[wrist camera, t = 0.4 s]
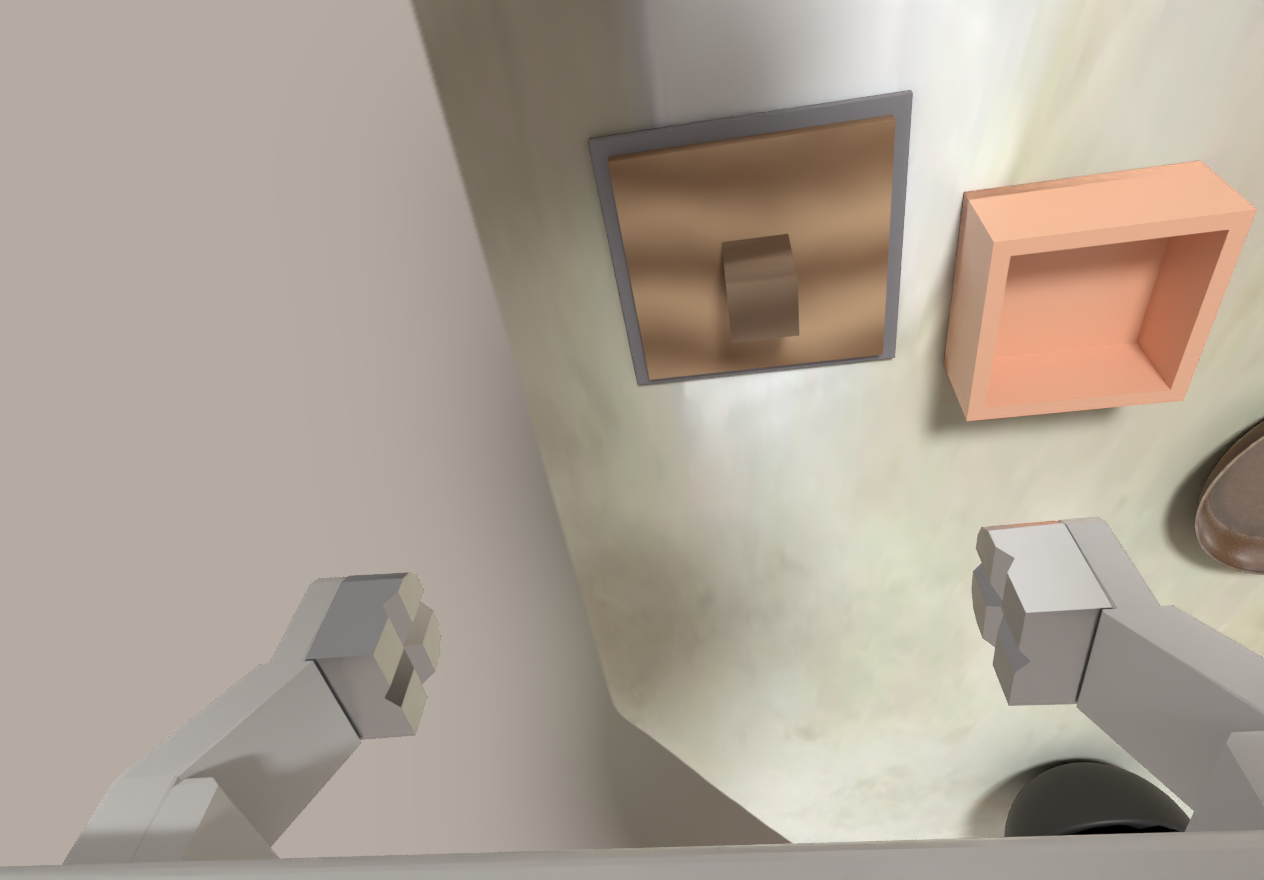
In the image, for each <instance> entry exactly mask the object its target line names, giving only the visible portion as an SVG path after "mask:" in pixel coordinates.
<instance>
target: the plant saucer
mask: <svg viewBox="0 0 1264 880" xmlns="http://www.w3.org/2000/svg"><path fill="white" fill-rule="evenodd" d="M1195 534H1196V538H1197V540H1198V543H1199V545H1200V546H1201V548H1202V549H1203V551H1204V552H1205V553H1206V554H1207V555H1208V556H1209V557H1211V558H1212V559H1213V560H1214V561H1216V562H1218V563H1220V564H1221V565H1223V566H1226V567H1228V568H1231V569H1234V570H1237V571H1241V572H1245V573H1251V574H1261V575H1264V421H1262V422H1261V423H1260V424H1258V425H1257V426H1255V427H1254V428H1253V429H1251V430H1250V431H1249V432H1248V433H1246V434H1245V435H1244V436H1243V437H1242V438H1240V439H1239V440H1238V441H1237V442H1236V443H1235V444H1234V445H1233V446H1232V447H1231V448H1230V449H1229V450H1228V451H1227V452H1226V453H1225V454H1224V456H1223V457H1222V458H1221V459H1220V461H1219V462H1218V463H1217V465H1216V466H1215V467H1214V469H1213V470H1212V472H1211V474H1210V475H1209V477H1208V479H1207V481H1206V483H1205V485H1204V487H1203V489H1202V492H1201V494H1200V497H1199V500H1198V504H1197V508H1196V514H1195Z"/></svg>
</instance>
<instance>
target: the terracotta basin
mask: <svg viewBox="0 0 1264 880" xmlns="http://www.w3.org/2000/svg"><path fill="white" fill-rule="evenodd" d="M1256 210H1257V209H1256V208H1255V207H1253V206H1252V205H1251V204H1250V203H1249V202H1248V201H1247V200H1245V199H1244V198H1243V197H1242V196H1241V195H1240V194H1239V193H1237V192H1236V191H1235V190H1234V189H1233V188H1232V187H1231V186H1229V185H1228V184H1227V183H1226V182H1225V181H1224V180H1223V179H1221V178H1220V177H1219V176H1218V175H1217V174H1216V173H1214V172H1213V171H1212V170H1211V169H1210V168H1209V167H1208V166H1206V165H1205V164H1204V163H1203V162H1202V161H1194V162H1186V163H1179V164H1171V165H1164V166H1156V167H1149V168H1141V169H1134V170H1126V171H1119V172H1111V173H1104V174H1096V175H1089V176H1081V177H1074V178H1066V179H1059V180H1051V181H1044V182H1036V183H1029V184H1021V185H1014V186H1006V187H999V188H991V189H984V190H976V191H969V192H964V198H963V206H962V214H961V223H960V231H959V240H958V248H957V257H956V265H955V273H954V282H953V290H952V299H951V307H950V315H949V324H948V332H947V341H946V349H945V358H944V367H945V369H946V372H947V374H948V377H949V379H950V382H951V384H952V387H953V389H954V391H955V394H956V396H957V399H958V401H959V404H960V406H961V409H962V411H963V414H964V416H965V418H966V421H975V420H985V419H996V418H1006V417H1017V416H1027V415H1038V414H1048V413H1059V412H1069V411H1080V410H1090V409H1101V408H1111V407H1122V406H1132V405H1142V404H1153V403H1163V402H1174V401H1183V400H1184V398H1185V395H1186V393H1187V390H1188V387H1189V385H1190V382H1191V380H1192V377H1193V374H1194V372H1195V369H1196V367H1197V364H1198V361H1199V359H1200V356H1201V354H1202V351H1203V348H1204V346H1205V343H1206V341H1207V338H1208V335H1209V333H1210V330H1211V328H1212V325H1213V322H1214V320H1215V317H1216V315H1217V312H1218V309H1219V307H1220V304H1221V302H1222V299H1223V296H1224V294H1225V291H1226V289H1227V286H1228V283H1229V281H1230V278H1231V275H1232V273H1233V270H1234V268H1235V265H1236V262H1237V260H1238V257H1239V255H1240V252H1241V249H1242V247H1243V244H1244V242H1245V239H1246V236H1247V234H1248V231H1249V229H1250V226H1251V223H1252V221H1253V218H1254V216H1255V213H1256Z"/></svg>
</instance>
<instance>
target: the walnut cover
mask: <svg viewBox="0 0 1264 880" xmlns="http://www.w3.org/2000/svg"><path fill="white" fill-rule="evenodd" d="M895 123H896V120H895V118H894V116H893V115H886V116H880V117H873V118H866V119H859V120H852V121H846V122H839V123H832V124H825V125H819V126H812V127H805V128H798V129H792V130H785V131H778V132H771V133H765V134H758V135H751V136H744V137H737V138H731V139H724V140H717V141H710V142H704V143H697V144H690V145H683V146H677V147H670V148H663V149H656V150H649V151H643V152H636V153H629V154H622V155H616V156H609V157H608V166H609V171H610V176H611V182H612V187H613V192H614V197H615V202H616V208H617V213H618V218H619V223H620V228H621V234H622V239H623V244H624V249H625V254H626V260H627V265H628V270H629V275H630V280H631V286H632V291H633V296H634V301H635V306H636V312H637V317H638V322H639V327H640V332H641V338H642V343H643V348H644V353H645V358H646V364H647V369H648V374H649V379H650V380H652V379H662V378H671V377H680V376H689V375H699V374H708V373H717V372H727V371H736V370H745V369H754V368H764V367H773V366H782V365H791V364H801V363H810V362H819V361H829V360H838V359H847V358H856V357H866V356H875V355H883V344H884V325H885V307H886V288H887V270H888V252H889V233H890V215H891V197H892V178H893V160H894V142H895Z"/></svg>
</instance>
